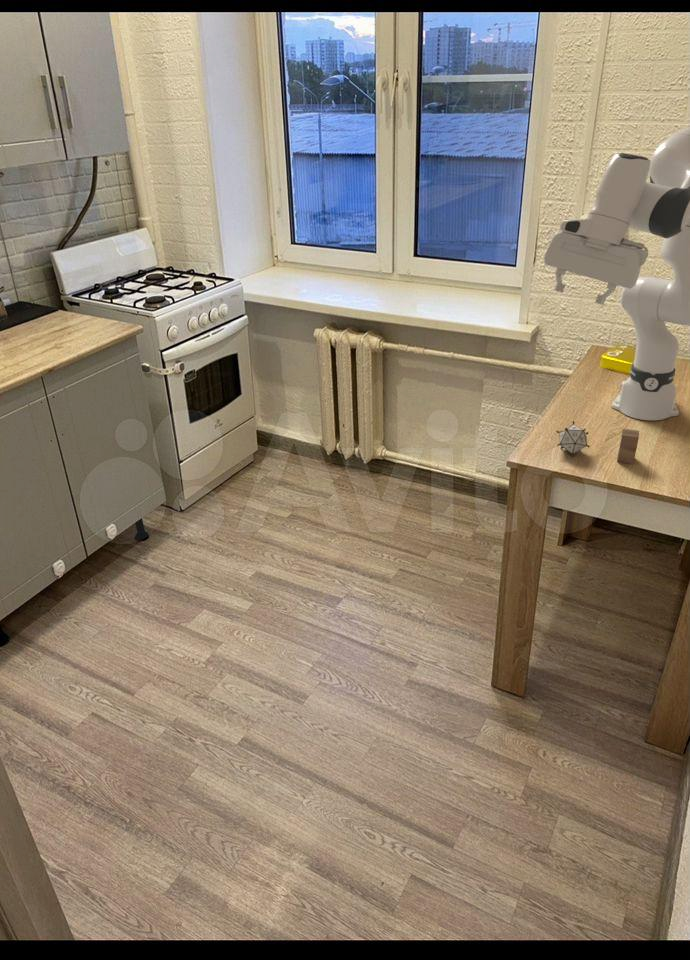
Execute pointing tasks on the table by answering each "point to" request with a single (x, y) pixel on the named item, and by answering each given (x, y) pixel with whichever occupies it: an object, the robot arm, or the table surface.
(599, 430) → the table surface
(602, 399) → the table surface
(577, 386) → the table surface
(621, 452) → the walnut block
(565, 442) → the game die
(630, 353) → the element tile
